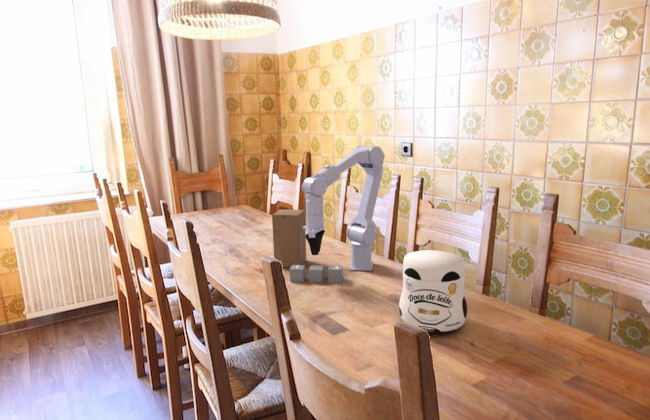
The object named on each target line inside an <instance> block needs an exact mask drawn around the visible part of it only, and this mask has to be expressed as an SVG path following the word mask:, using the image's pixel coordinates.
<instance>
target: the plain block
mask: <svg viewBox="0 0 650 420" xmlns="http://www.w3.org/2000/svg"><path fill="white" fill-rule="evenodd" d="M324 279H325V265H314V264H312V265H310V266H309V267H308V282H309V283H323V282H324Z"/></svg>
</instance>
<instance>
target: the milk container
mask: <svg viewBox="0 0 650 420" xmlns="http://www.w3.org/2000/svg"><path fill="white" fill-rule="evenodd" d="M403 257H404V258H403V263H402V270H403V271H402V291H401V295H400V297H399V301H398V302H399V303H398V309H399V316H400V317H401V320H402V321H403V323H404V322H406V323H409V324H412V325H415V326H418V327H420V328H422V329H424V330H426V331H427V332H428V333H429V334H446V333H451V332H454V331H457V330H458V329H460V328H462V327H463V326H464V324H465V322H466V321H467V320H466V319H467V315H468V304H467V300H466V295H465V282H466V281H465V280H466V275H465V273H466V263H465V260H464V258H463V256H461V255H459V254H457V253H453V252H449V251H444V250H434V249H433V250H432V249H428V250H427V249H425V250H424V249H423V250H418V251H411V252H409V253H406V255H404V256H403ZM427 332H426V333H427Z"/></svg>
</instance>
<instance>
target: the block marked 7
mask: <svg viewBox="0 0 650 420" xmlns="http://www.w3.org/2000/svg"><path fill="white" fill-rule="evenodd" d="M343 271H344V269H343V265H329V266H328V270H327V282H328V283H329V284H330V283H332V284H337V283H338V284H342V282H343V278H344V275H343V274H344V272H343Z"/></svg>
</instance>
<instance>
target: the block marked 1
mask: <svg viewBox="0 0 650 420" xmlns="http://www.w3.org/2000/svg"><path fill="white" fill-rule="evenodd" d="M305 279H306V265H305V264H303V265H292V266H291V267H289V281H294V282H293V283H297V282H298V283H303V282H304V281H305Z"/></svg>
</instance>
